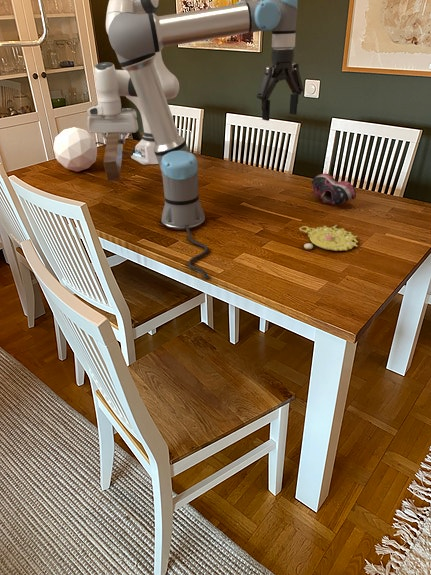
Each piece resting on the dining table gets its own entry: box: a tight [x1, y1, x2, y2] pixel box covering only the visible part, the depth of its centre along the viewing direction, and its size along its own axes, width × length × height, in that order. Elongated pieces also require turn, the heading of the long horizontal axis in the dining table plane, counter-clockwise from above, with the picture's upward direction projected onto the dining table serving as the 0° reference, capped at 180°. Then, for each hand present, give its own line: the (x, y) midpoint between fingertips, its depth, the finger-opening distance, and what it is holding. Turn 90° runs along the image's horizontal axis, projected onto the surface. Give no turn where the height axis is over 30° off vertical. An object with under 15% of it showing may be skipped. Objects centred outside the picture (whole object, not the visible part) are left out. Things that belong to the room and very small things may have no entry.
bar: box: [103, 133, 124, 182], centre depth 175 cm, size 28×5×8 cm, turn 6°
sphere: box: [52, 126, 98, 173], centre depth 205 cm, size 19×20×20 cm
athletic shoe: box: [309, 173, 357, 206], centre depth 167 cm, size 11×22×12 cm
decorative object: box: [299, 224, 359, 252], centre depth 141 cm, size 21×2×20 cm
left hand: (115, 143), depth 184 cm, fingers closed on bar, 5 cm apart
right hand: (279, 117), depth 155 cm, fingers open, 13 cm apart
